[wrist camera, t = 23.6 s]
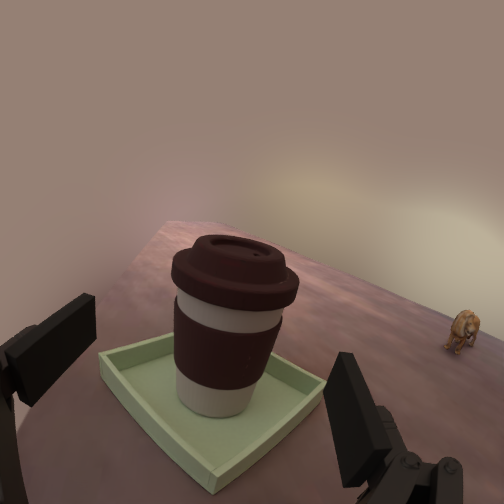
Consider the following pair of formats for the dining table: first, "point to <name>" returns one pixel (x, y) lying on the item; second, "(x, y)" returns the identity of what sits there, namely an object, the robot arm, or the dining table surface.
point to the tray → (203, 427)
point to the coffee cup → (226, 319)
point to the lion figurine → (463, 329)
